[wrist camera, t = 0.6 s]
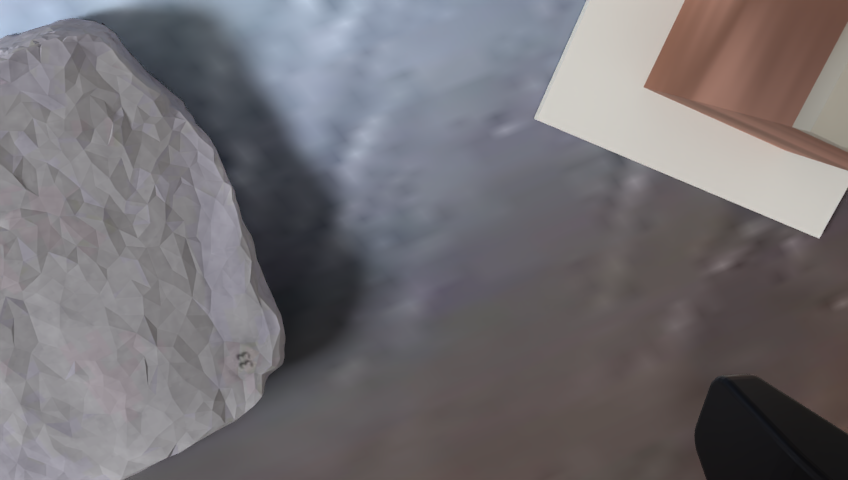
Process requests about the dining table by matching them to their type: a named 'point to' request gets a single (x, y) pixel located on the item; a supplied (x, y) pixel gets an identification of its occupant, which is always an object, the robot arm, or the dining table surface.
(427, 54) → the dining table surface
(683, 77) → the brick block
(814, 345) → the dining table surface
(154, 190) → the stone block
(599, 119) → the white paper sheet
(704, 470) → the robot arm
